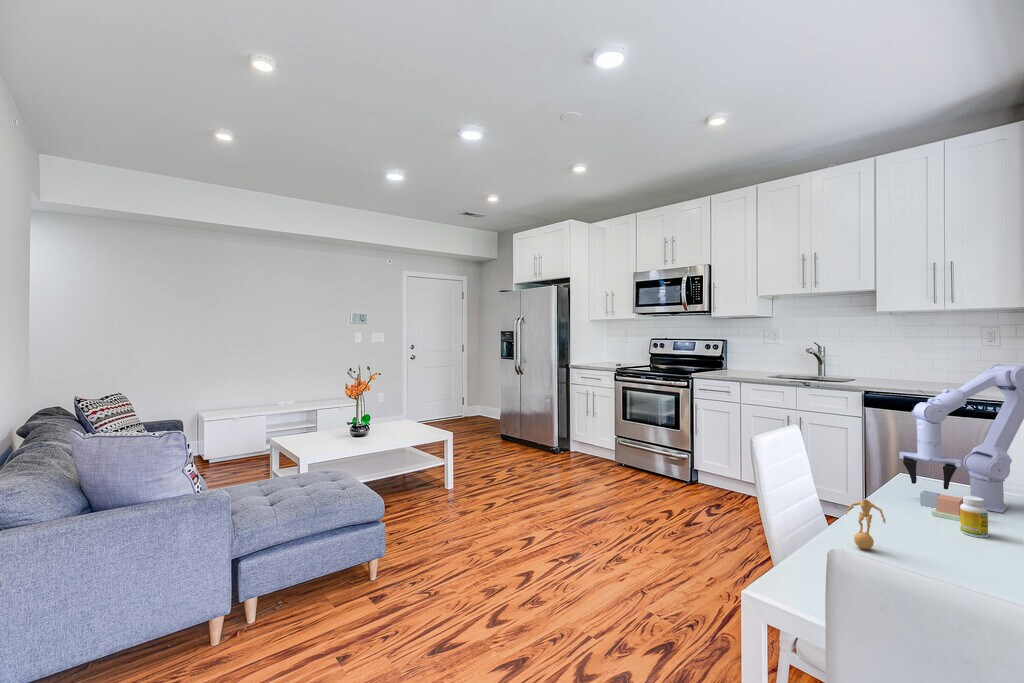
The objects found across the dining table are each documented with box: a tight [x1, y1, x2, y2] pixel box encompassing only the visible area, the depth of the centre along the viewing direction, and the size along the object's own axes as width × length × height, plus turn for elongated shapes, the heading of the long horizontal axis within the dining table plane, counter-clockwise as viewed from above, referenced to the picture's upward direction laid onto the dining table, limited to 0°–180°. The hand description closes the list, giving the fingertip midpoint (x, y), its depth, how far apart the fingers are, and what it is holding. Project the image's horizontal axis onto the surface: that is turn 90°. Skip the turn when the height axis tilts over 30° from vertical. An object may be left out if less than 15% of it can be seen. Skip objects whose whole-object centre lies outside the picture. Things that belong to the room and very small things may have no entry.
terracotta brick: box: [936, 493, 964, 516], centre depth 142 cm, size 5×5×4 cm
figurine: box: [845, 498, 886, 550], centre depth 122 cm, size 8×6×12 cm
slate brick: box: [919, 490, 941, 509], centre depth 151 cm, size 4×4×4 cm
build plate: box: [931, 509, 960, 522], centre depth 142 cm, size 7×7×1 cm
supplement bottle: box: [959, 495, 989, 539], centre depth 129 cm, size 5×5×10 cm
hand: (929, 485), depth 151 cm, fingers open, 7 cm apart
